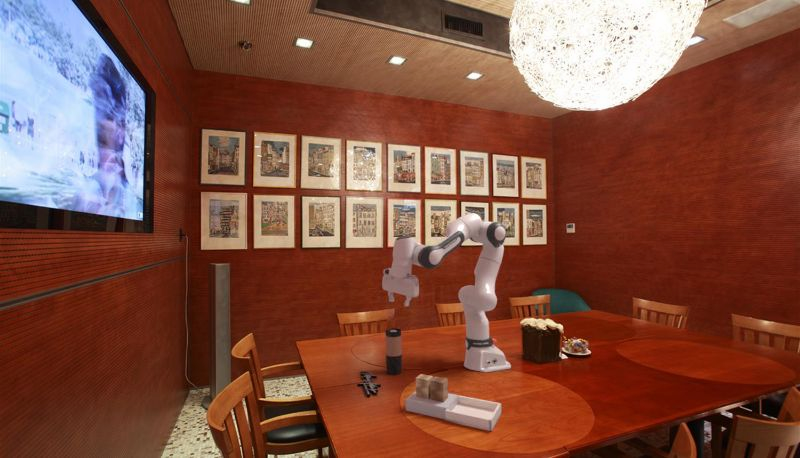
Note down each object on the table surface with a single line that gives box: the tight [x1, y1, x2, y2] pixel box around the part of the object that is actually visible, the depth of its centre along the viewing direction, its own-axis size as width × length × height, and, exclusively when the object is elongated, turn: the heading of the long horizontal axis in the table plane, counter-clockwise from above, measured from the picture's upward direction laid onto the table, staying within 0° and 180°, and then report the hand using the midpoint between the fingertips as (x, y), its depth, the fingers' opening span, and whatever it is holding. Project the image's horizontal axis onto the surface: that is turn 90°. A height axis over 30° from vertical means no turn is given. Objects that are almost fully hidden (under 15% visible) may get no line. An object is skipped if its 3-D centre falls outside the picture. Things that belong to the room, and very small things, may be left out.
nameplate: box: [357, 370, 382, 399], centre depth 163 cm, size 27×2×10 cm
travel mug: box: [385, 327, 403, 376], centre depth 177 cm, size 8×8×20 cm
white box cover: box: [405, 390, 459, 420], centre depth 138 cm, size 16×12×4 cm
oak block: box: [415, 373, 434, 399], centre depth 140 cm, size 5×4×7 cm
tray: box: [444, 394, 503, 432], centre depth 131 cm, size 16×14×4 cm
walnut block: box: [430, 376, 449, 402], centre depth 137 cm, size 5×4×7 cm
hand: (398, 303), depth 164 cm, fingers open, 8 cm apart
